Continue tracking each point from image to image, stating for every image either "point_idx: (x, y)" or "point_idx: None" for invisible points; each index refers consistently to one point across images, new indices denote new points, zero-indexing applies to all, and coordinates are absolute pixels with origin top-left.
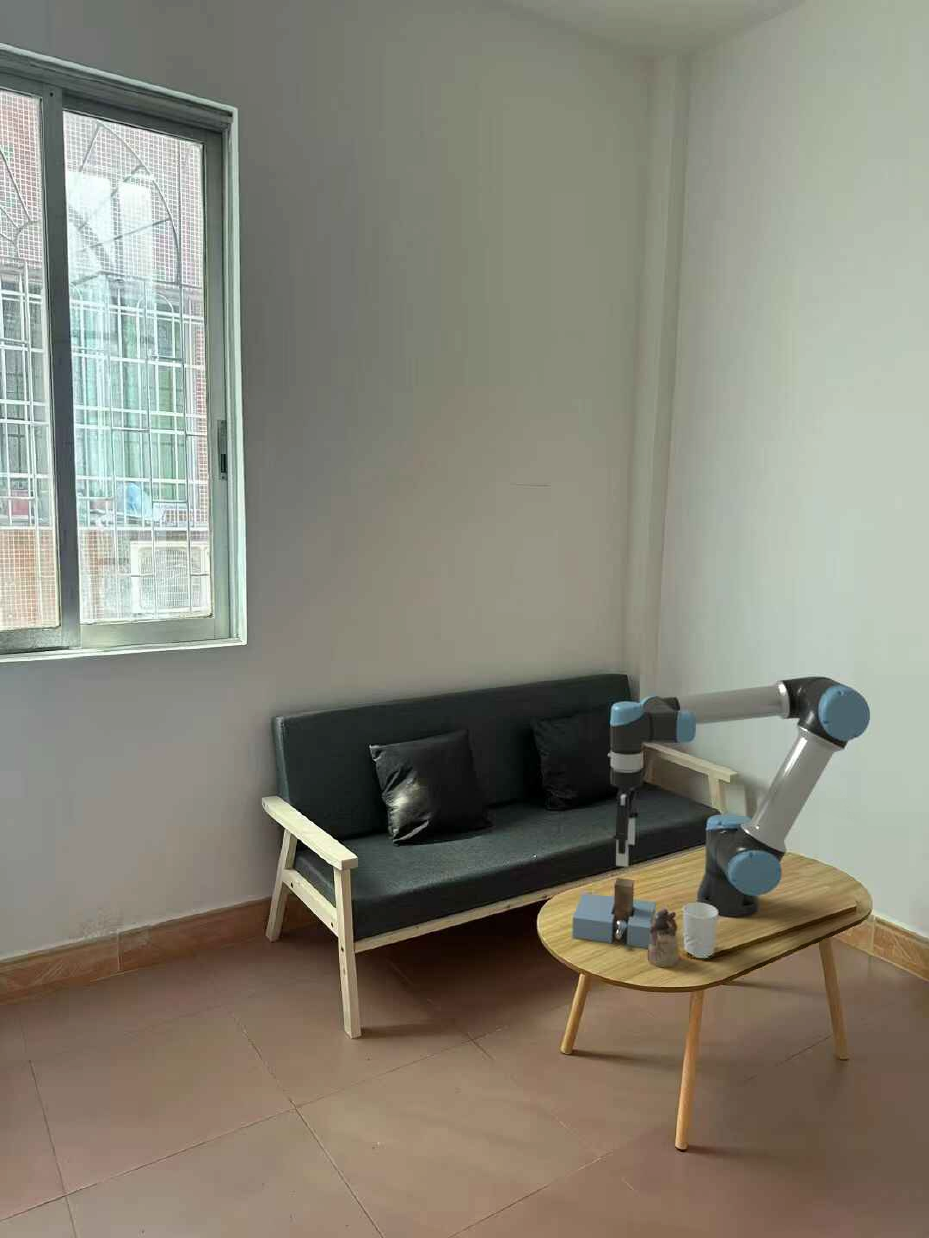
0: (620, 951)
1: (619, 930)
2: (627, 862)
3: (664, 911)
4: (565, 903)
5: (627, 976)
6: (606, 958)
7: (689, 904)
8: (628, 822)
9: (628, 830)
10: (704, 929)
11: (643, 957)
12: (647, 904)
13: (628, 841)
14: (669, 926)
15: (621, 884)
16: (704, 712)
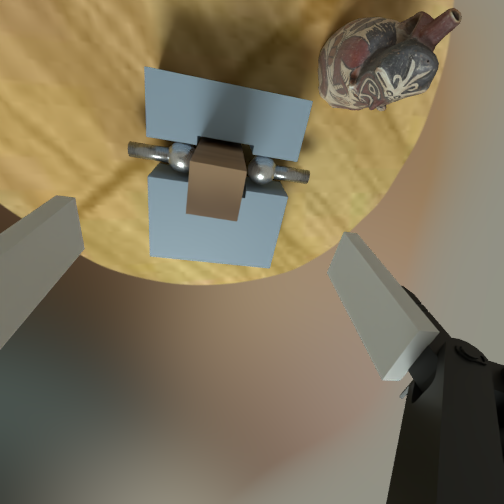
0: (312, 165)
1: (296, 176)
2: (363, 244)
3: (434, 60)
4: (134, 263)
5: (403, 155)
6: (337, 191)
7: None
8: (470, 464)
9: (36, 271)
10: None
11: (338, 116)
12: (169, 96)
13: (73, 232)
14: (392, 41)
15: (232, 201)
16: None
